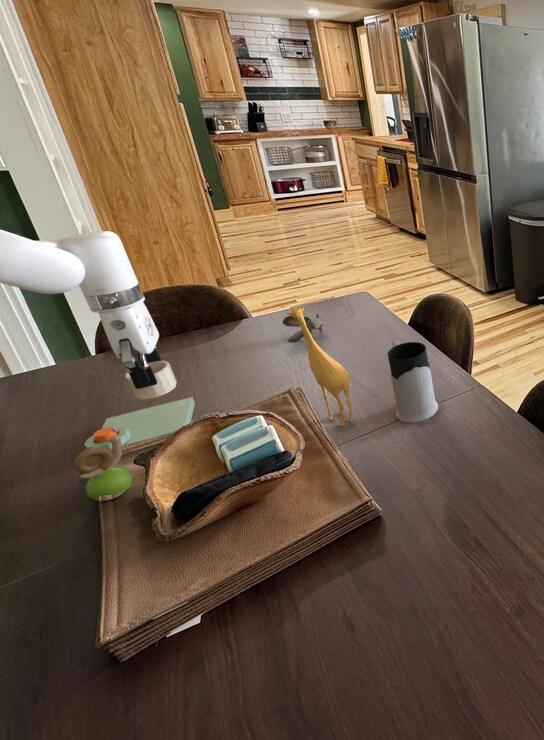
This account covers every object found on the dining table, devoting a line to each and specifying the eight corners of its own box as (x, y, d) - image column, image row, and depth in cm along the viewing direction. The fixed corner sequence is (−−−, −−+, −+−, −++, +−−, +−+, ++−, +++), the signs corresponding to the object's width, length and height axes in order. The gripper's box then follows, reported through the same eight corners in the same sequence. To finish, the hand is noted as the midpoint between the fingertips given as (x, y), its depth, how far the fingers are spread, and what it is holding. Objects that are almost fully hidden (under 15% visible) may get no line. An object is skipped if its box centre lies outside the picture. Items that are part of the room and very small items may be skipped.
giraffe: (305, 408, 104) (275, 305, 95) (325, 398, 108) (298, 298, 98) (346, 435, 96) (318, 326, 86) (366, 424, 99) (341, 317, 90)
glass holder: (404, 428, 98) (392, 366, 92) (383, 396, 108) (371, 339, 103) (444, 411, 103) (435, 352, 98) (420, 383, 113) (411, 327, 108)
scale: (88, 466, 88) (80, 451, 87) (107, 426, 98) (100, 412, 97) (187, 437, 95) (181, 423, 94) (195, 403, 106) (189, 390, 104)
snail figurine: (149, 488, 83) (122, 433, 79) (100, 513, 78) (68, 457, 73) (136, 476, 86) (110, 422, 81) (88, 500, 81) (57, 444, 76)
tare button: (94, 445, 89) (90, 438, 88) (98, 436, 91) (95, 429, 90) (115, 439, 90) (112, 433, 90) (119, 430, 92) (116, 424, 92)
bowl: (131, 403, 93) (121, 382, 91) (138, 387, 98) (129, 366, 96) (174, 393, 96) (166, 372, 94) (179, 377, 101) (171, 357, 100)
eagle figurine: (315, 321, 141) (280, 326, 134) (319, 306, 137) (283, 310, 130) (323, 341, 138) (287, 347, 131) (327, 326, 134) (291, 332, 127)
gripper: (132, 309, 84) (167, 392, 91) (150, 279, 98) (180, 353, 105) (73, 319, 80) (115, 405, 87) (100, 286, 94) (135, 363, 101)
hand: (150, 376), depth 96 cm, fingers closed on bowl, 6 cm apart
